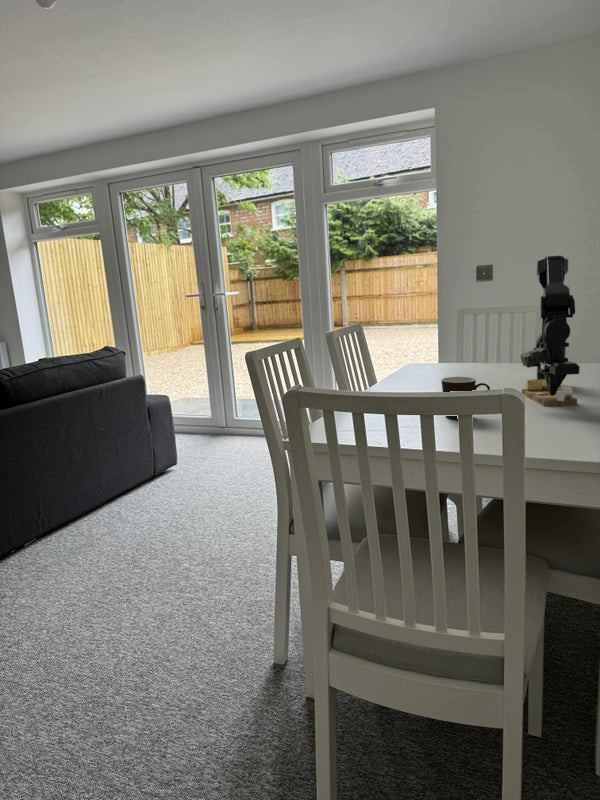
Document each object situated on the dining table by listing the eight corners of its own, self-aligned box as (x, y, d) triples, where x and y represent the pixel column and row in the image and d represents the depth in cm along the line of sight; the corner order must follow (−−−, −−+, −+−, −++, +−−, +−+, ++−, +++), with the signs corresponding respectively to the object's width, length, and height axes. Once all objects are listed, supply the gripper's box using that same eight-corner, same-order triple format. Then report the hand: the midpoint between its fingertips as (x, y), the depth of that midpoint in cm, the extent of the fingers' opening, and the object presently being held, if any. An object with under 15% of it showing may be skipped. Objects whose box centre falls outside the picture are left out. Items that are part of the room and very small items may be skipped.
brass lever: (550, 387, 173) (551, 377, 172) (556, 389, 169) (556, 380, 168) (524, 388, 173) (524, 379, 172) (528, 390, 169) (529, 381, 168)
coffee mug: (437, 419, 148) (437, 381, 146) (445, 412, 155) (445, 376, 153) (484, 423, 143) (484, 383, 141) (490, 415, 150) (490, 377, 148)
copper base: (521, 393, 174) (521, 388, 173) (551, 392, 173) (551, 386, 173) (543, 405, 157) (543, 399, 157) (576, 404, 157) (577, 398, 156)
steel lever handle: (557, 394, 162) (558, 385, 161) (573, 395, 159) (573, 385, 159) (552, 400, 155) (552, 390, 155) (568, 401, 153) (569, 391, 152)
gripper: (512, 336, 163) (510, 390, 166) (537, 343, 145) (535, 403, 148) (552, 334, 163) (549, 388, 166) (582, 341, 145) (578, 402, 148)
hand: (552, 395), depth 157 cm, fingers closed
